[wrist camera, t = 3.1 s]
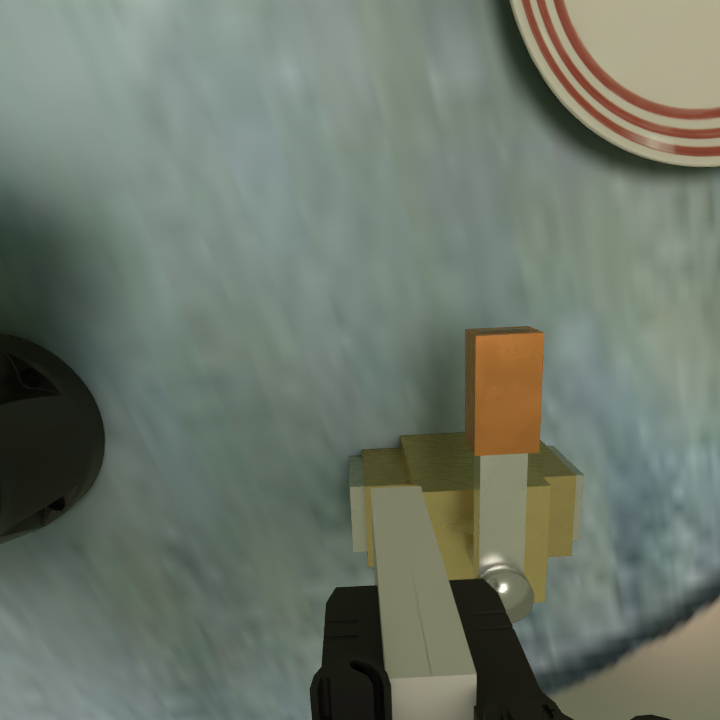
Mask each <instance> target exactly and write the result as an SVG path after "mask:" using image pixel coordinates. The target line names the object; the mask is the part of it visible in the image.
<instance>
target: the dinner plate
mask: <svg viewBox="0 0 720 720" xmlns="http://www.w3.org/2000/svg"><path fill="white" fill-rule="evenodd" d="M510 4H511V7H512V11H513V14H514V18H515V21H516V23H517V26H518V29H519V31H520V34H521V36H522V39H523V41H524V43H525V46H526V48H527V50H528V52H529V54H530V56H531V59H532V60H533V62H534V64H535V66H536V67H537V69H538V71H539V72H540V74H541V76H542V78H543V79H544V81H545V82H546V84H547V85H548V86H549V88H550V89H551V90H552V92H553V93H554V94H555V96H556V97H557V98H558V99H559V101H560V102H561V103H562V104H563V105H564V106H565V107H566V108H567V109H568V110H569V111H570V112H571V113H572V114H573V115H574V116H575V117H576V118H577V119H578V120H579V121H580V122H582V123H583V124H584V125H585V126H586V127H588V128H589V129H590V130H591V131H593V132H594V133H595V134H597V135H598V136H600V137H601V138H603V139H605V140H606V141H608V142H609V143H611V144H613V145H615V146H617V147H619V148H621V149H623V150H625V151H627V152H630V153H632V154H635V155H637V156H640V157H643V158H646V159H650V160H653V161H658V162H662V163H666V164H672V165H679V166H689V167H718V166H720V0H510Z"/></svg>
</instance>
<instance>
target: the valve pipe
mask: <svg viewBox="0 0 720 720" xmlns="http://www.w3.org/2000/svg"><path fill="white" fill-rule="evenodd" d="M400 447H401V448H386V449H367V450H362V456H349V458H350V502H351V520H352V539H353V552H367V554H368V567H374V560H373V537H372V514H371V491H370V488H385V487H405V486H421V489H422V492H423V496H424V499H425V503H426V506H427V509H428V513H429V516H430V519H431V523H432V526H433V529H434V533H435V536H436V539H437V543H438V546H439V550H440V553H441V556H442V560H443V563H444V566H445V570H446V573H447V576H448V580H461V579H474V577H473V568H472V565H471V563H470V560H469V557H468V549H469V546H470V545H471V544H472V542H474V454H473V453H472V451H471V449H470V448H469V446H468V444H467V443H466V441H465V432H463V433H443V434H424V435H404V436H400ZM583 480H584V475H583V474H582V473H581V472H580V471H579V470H578V469H577V468H576V467H575V466H574V465H573V464H572V463H571V462H570V461H569V460H568V459H567V458H566V457H565V456H563V455H562V454H561V453H560V452H559V451H558V450H557V449H556V448H555V447H554V446H546V445H545V444H544V443H543V442H542V441H540V446H539V453H528V469H527V497H526V525H525V553H524V574H525V576H526V578H527V580H528V582H529V583H530V585H531V587H532V589H533V592H534V602H545V594H546V573H547V557H560V556H572V541H573V540H580V527H581V511H582V496H583Z"/></svg>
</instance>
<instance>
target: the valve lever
mask: <svg viewBox="0 0 720 720" xmlns="http://www.w3.org/2000/svg"><path fill="white" fill-rule="evenodd" d="M543 349H544V332H541V331H539V330H537V329H534V328H532V327H529V326H521V327H500V328H479V329H465V441H466V443H467V444H468V446H469V448H470V449H471V451H472V453H473V454H474V542H472V544H471V545H470V546H469V549H468V557H469V560H470V563H471V565H472V568H473V577H474V579H480V578H483V579H484V580H485V581H486V582H487V583H489V584H490V585H491V586H492V587H493V588H494V589H495V590H496V591H497V592H498V593H499V596H500V598H501V600H502V603H503V605H504V607H505V610H506V614H508V617H509V619H510V621H511V623H515V622H517V621H519V620H521V619H523V618H524V617H525V616H526V615H527V614H528V613H529V612H530V610H531V609H532V607H533V604H534V592H533V589H532V587H531V585H530V583H529V582H528V580H527V578H526V576H525V574H524V553H525V525H526V497H527V469H528V453H539V446H540V422H541V397H542V373H543Z"/></svg>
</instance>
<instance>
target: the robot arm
mask: <svg viewBox="0 0 720 720" xmlns="http://www.w3.org/2000/svg"><path fill="white" fill-rule="evenodd" d="M103 451H104V433H103V426H102V421H101V418H100V414H99V411H98V409H97V406H96V404H95V402H94V400H93V398H92V396H91V394H90V392H89V391H88V389H87V388H86V386H85V385H84V383H83V382H82V381H81V379H80V378H79V377H78V376H77V375H76V374H75V373H74V372H73V371H72V369H71V368H70V367H68V366H67V365H66V364H65V363H64V362H63V361H61V360H60V359H59V358H58V357H56V356H55V355H53V354H52V353H50V352H49V351H47V350H45V349H43V348H42V347H40V346H38V345H36V344H33V343H31V342H29V341H26V340H23V339H20V338H17V337H13V336H9V335H4V334H0V544H2V543H5V542H7V541H10V540H12V539H15V538H18V537H20V536H23V535H25V534H28V533H31V532H33V531H36V530H38V529H40V528H42V527H44V526H46V525H48V524H50V523H51V522H53V521H54V520H56V519H57V518H59V517H60V516H61V515H63V514H64V513H65V512H66V511H67V510H68V509H69V508H70V507H72V506H73V505H74V504H75V503H76V502H77V501H78V500H79V499H80V498H81V497H82V496H83V495H84V494H85V493H86V492H87V491H88V489H89V488H90V486H91V485H92V483H93V482H94V480H95V478H96V476H97V474H98V471H99V469H100V466H101V462H102V457H103ZM370 491H371V514H372V537H373V560H374V577H375V585H374V586H355V587H336V588H335V590H334V591H333V593H332V595H331V596H330V598H329V599H328V601H327V603H326V612H325V626H324V641H323V655H322V667H321V668H320V669H319V670H318V672H317V673H316V674H315V675H314V677H313V681H312V684H311V687H310V700H311V712H312V720H573V719H571V718H570V717H568V716H566V715H564V714H563V713H562V712H561V711H560V709H559V708H558V706H557V705H556V703H555V702H554V701H552V700H551V699H550V698H549V697H547V696H546V695H545V694H544V693H543V692H542V691H541V689H540V688H539V686H538V684H537V681H536V679H535V677H534V674H533V672H532V670H531V667H530V665H529V663H528V660H527V658H526V656H525V654H524V651H523V649H522V647H521V644H520V642H519V640H518V637H517V635H516V633H515V630H514V629H513V627H512V623H511V621H510V619H509V617H508V614H506V610H505V607H504V605H503V603H502V600H501V598H500V596H499V593H498V592H497V591H496V590H495V589H494V588H493V587H492V586H491V585H490V584H489V583H487V582H486V581H485V580H484V579H483V578H480V579H461V580H448V576H447V573H446V570H445V566H444V563H443V560H442V556H441V553H440V550H439V546H438V543H437V539H436V536H435V533H434V529H433V526H432V523H431V519H430V516H429V513H428V509H427V506H426V503H425V499H424V496H423V492H422V489H421V486H405V487H385V488H370ZM631 720H670V719H667V718H663V717H658V716H655V715H642V716H635V717H634V718H632V719H631Z"/></svg>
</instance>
